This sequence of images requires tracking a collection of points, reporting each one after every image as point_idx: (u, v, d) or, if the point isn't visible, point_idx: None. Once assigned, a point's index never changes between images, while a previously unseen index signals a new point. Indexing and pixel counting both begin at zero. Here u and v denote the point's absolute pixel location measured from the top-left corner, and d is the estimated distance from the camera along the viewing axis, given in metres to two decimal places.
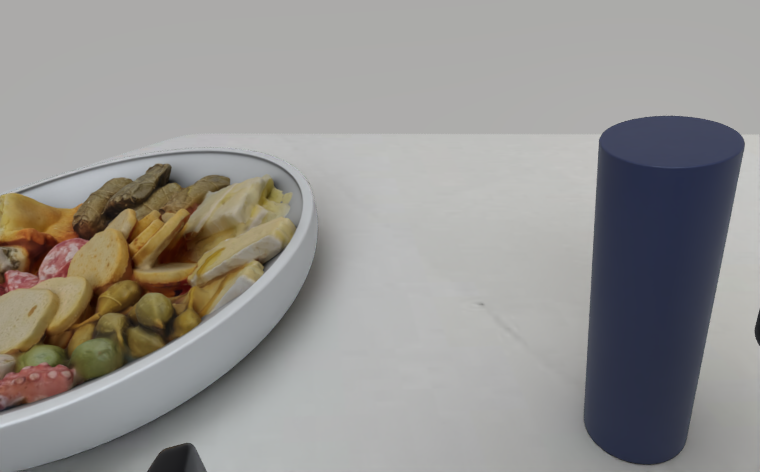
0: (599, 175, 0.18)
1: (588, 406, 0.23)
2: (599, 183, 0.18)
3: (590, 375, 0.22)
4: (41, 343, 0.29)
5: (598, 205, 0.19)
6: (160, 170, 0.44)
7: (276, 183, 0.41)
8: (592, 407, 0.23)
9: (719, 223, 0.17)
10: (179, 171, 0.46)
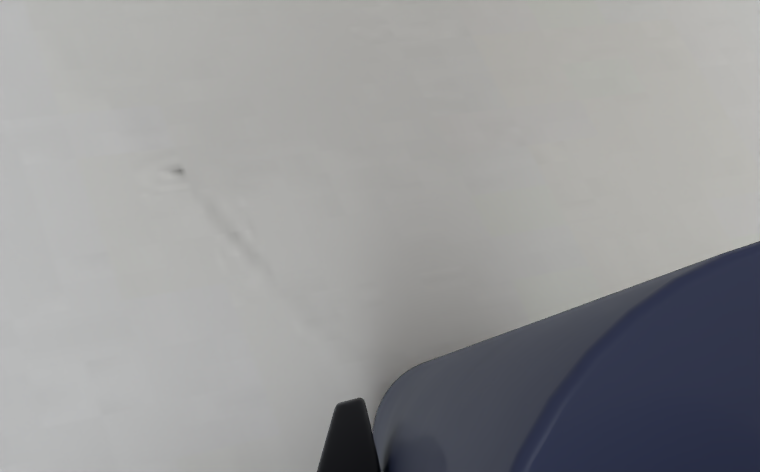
0: None
1: None
2: None
3: None
4: None
5: None
6: None
7: None
8: None
9: None
10: None
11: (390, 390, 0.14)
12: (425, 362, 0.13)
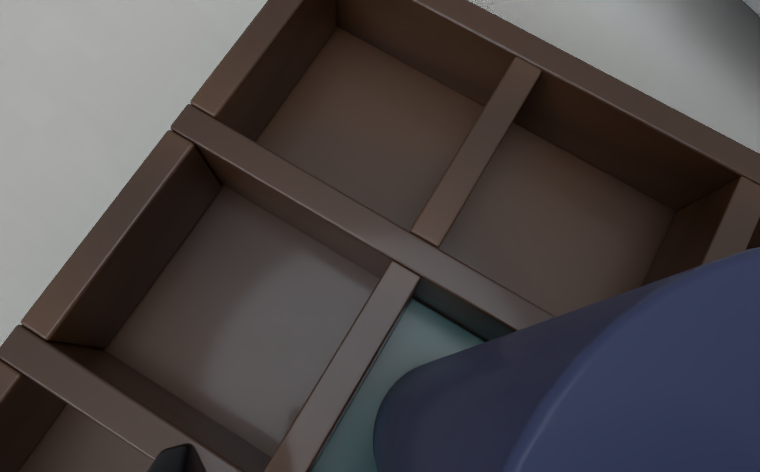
0: None
1: None
2: None
3: None
4: None
5: None
6: None
7: None
8: None
9: None
10: None
11: (390, 391, 0.14)
12: (425, 364, 0.14)
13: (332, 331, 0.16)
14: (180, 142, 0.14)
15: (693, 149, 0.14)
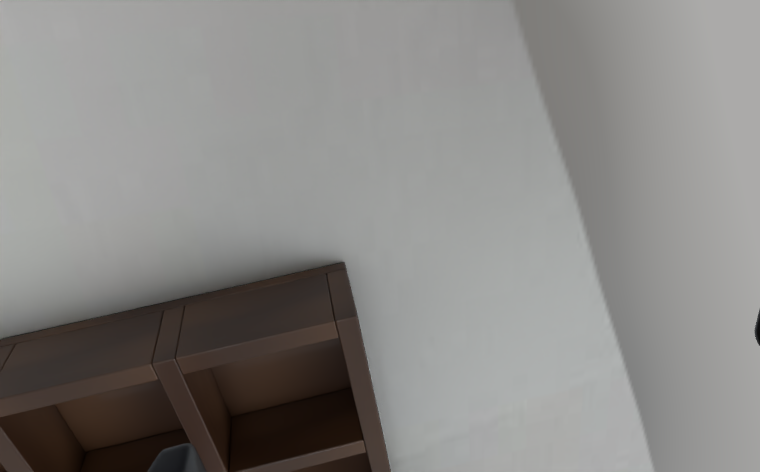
0: None
1: None
2: None
3: None
4: None
5: None
6: None
7: None
8: None
9: None
10: None
11: None
12: None
13: None
14: None
15: None
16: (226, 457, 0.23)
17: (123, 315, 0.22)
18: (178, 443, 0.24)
